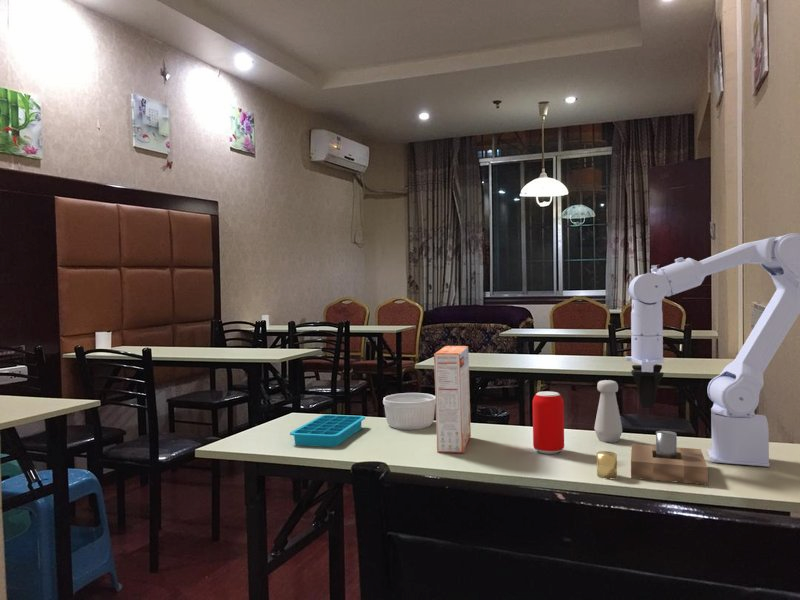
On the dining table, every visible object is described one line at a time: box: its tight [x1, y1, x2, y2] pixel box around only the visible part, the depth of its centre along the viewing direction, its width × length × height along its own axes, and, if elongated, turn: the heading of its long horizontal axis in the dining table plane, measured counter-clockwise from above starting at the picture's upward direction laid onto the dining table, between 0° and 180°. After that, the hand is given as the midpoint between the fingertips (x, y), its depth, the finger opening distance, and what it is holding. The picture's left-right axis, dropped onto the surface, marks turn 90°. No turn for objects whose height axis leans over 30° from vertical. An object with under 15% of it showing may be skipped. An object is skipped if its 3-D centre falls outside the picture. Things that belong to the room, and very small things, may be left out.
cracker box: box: [433, 345, 472, 454], centre depth 129 cm, size 14×6×21 cm, turn 167°
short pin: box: [596, 450, 618, 480], centre depth 106 cm, size 3×3×4 cm
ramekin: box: [382, 392, 436, 431], centre depth 149 cm, size 13×13×7 cm
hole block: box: [630, 443, 709, 486], centre depth 108 cm, size 12×12×3 cm
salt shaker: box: [593, 379, 623, 443], centre depth 131 cm, size 6×6×13 cm
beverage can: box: [532, 390, 565, 455], centre depth 123 cm, size 6×6×12 cm
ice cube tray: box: [289, 414, 366, 448], centre depth 140 cm, size 12×20×3 cm, turn 165°
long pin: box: [655, 430, 678, 459], centre depth 108 cm, size 3×3×7 cm
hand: (647, 404), depth 117 cm, fingers open, 7 cm apart
